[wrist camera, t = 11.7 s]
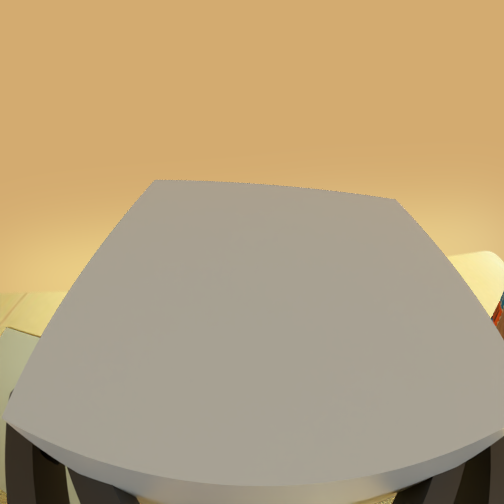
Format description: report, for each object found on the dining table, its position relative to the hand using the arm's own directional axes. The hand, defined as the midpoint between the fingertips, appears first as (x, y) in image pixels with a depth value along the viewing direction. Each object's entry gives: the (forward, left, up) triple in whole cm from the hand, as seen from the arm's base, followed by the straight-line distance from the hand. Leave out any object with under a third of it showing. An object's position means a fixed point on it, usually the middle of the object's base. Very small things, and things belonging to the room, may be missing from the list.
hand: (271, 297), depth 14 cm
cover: (+1, -4, -7) cm, 8 cm away
